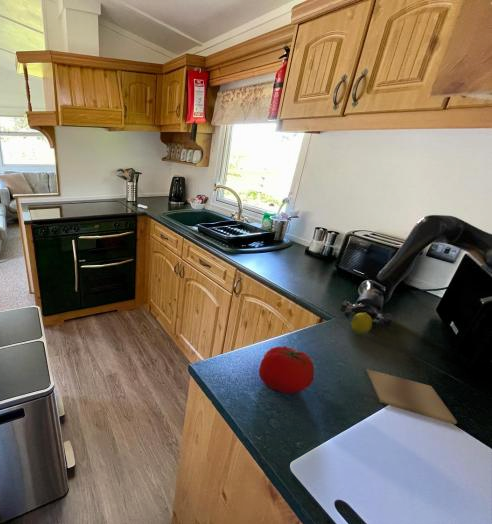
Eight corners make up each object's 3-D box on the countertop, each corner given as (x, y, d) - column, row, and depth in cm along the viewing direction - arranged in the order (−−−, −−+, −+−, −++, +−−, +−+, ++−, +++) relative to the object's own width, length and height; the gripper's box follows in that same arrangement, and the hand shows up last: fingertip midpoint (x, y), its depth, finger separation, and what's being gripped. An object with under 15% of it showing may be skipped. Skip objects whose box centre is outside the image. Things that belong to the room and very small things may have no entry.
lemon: (344, 330, 99) (352, 310, 96) (353, 327, 101) (361, 307, 98) (362, 339, 94) (370, 318, 91) (371, 336, 97) (379, 315, 94)
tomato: (247, 370, 77) (255, 337, 73) (291, 369, 78) (301, 337, 75) (268, 404, 66) (278, 368, 63) (319, 402, 68) (332, 367, 64)
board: (430, 388, 75) (431, 385, 74) (456, 424, 64) (457, 422, 64) (365, 371, 79) (366, 368, 79) (380, 402, 69) (381, 399, 69)
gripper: (349, 288, 109) (340, 302, 97) (397, 302, 100) (394, 319, 88) (343, 306, 111) (334, 321, 100) (390, 321, 102) (386, 339, 91)
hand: (362, 320), depth 94 cm, fingers open, 8 cm apart
